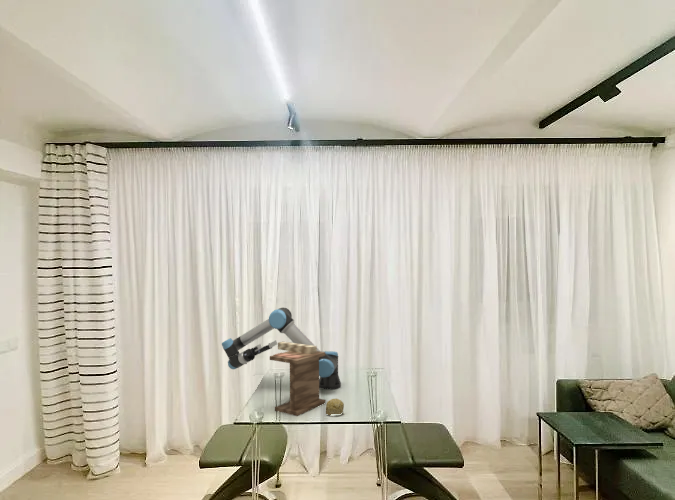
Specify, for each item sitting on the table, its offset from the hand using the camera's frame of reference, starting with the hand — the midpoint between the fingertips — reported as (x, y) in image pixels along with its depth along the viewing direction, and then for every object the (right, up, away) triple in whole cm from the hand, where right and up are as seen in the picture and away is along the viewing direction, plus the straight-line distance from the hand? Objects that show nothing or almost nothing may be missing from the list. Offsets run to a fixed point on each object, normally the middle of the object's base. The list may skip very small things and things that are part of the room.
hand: (269, 343), depth 295 cm
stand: (+20, -32, -22) cm, 43 cm away
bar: (+18, -2, -13) cm, 22 cm away
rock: (+41, -32, -34) cm, 62 cm away
